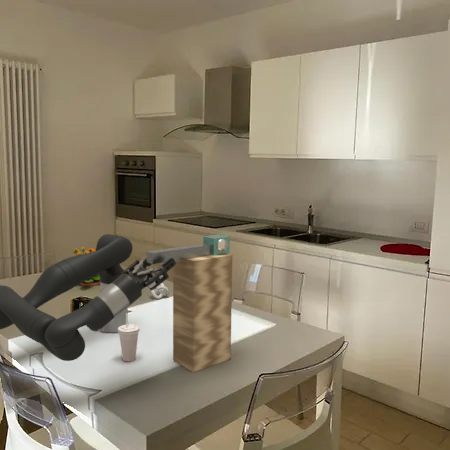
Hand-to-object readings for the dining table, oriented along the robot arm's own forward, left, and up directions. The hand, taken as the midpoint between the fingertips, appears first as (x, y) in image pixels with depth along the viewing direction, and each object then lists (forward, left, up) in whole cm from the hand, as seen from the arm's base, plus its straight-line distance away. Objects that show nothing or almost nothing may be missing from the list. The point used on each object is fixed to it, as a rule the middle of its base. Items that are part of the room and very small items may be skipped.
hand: (164, 257), depth 129 cm
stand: (+12, +6, -33) cm, 35 cm away
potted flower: (-21, +102, -33) cm, 109 cm away
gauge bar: (+7, +3, -1) cm, 8 cm away
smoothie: (-9, +12, -33) cm, 36 cm away
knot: (+9, +73, -33) cm, 80 cm away
